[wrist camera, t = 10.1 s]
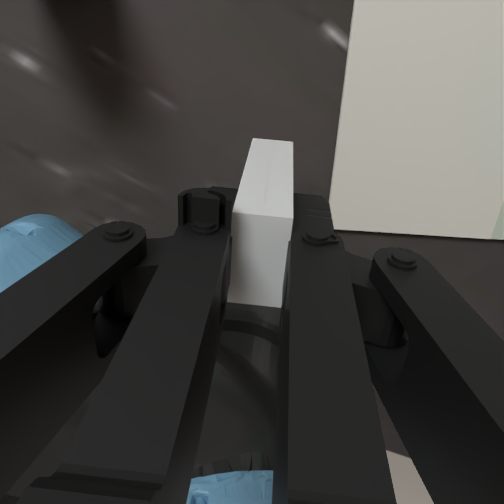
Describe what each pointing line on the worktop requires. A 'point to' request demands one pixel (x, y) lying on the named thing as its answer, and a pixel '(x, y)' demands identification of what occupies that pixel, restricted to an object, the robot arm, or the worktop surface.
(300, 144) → the worktop surface
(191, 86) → the worktop surface
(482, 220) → the board
